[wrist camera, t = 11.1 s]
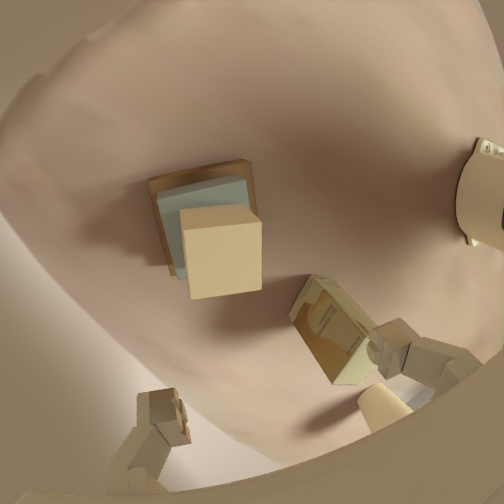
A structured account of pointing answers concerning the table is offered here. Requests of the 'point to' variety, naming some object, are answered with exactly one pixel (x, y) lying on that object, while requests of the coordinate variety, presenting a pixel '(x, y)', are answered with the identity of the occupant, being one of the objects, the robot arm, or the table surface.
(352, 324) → the skincare box
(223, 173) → the walnut base brick
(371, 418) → the foam cup
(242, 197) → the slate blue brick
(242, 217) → the cream brick
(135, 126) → the table surface
